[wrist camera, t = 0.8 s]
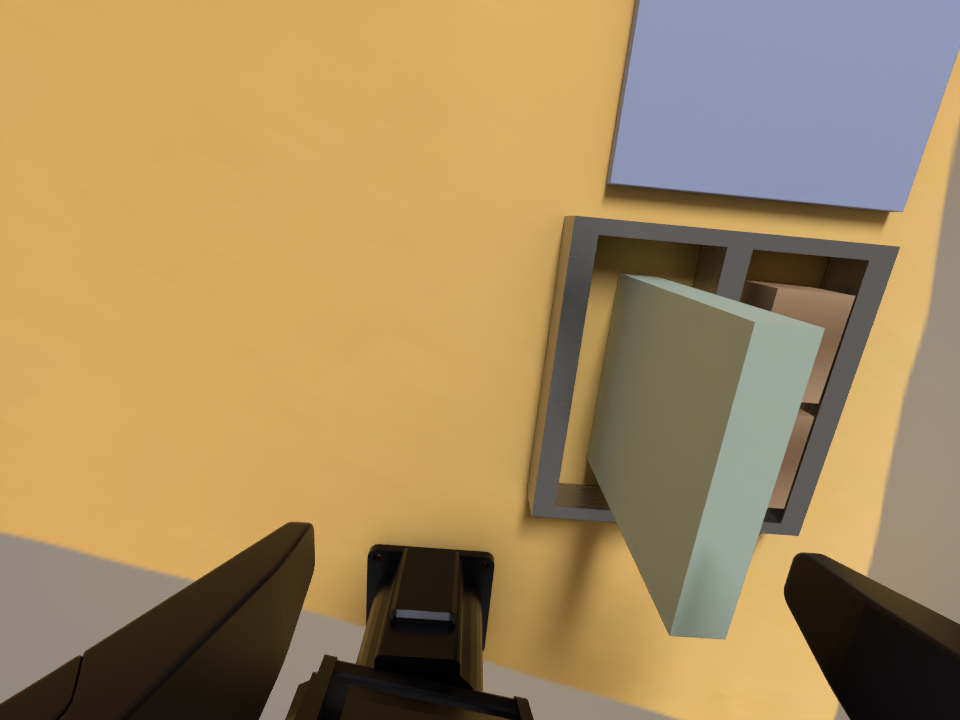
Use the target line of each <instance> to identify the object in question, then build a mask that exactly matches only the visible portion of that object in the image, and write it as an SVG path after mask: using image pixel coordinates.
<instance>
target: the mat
mask: <svg viewBox="0 0 960 720" xmlns="http://www.w3.org/2000/svg"><path fill="white" fill-rule="evenodd" d="M959 48H960V0H636V2H635V8H634V14H633V20H632V27H631V33H630V39H629V45H628V52H627V58H626V64H625V70H624V77H623V83H622V89H621V95H620V101H619V108H618V114H617V120H616V126H615V133H614V139H613V145H612V151H611V157H610V164H609V170H608V176H607V182H606V184H611V185H621V186H631V187H641V188H651V189H662V190H672V191H682V192H692V193H703V194H713V195H723V196H733V197H743V198H754V199H764V200H774V201H784V202H794V203H805V204H815V205H825V206H835V207H846V208H856V209H866V210H876V211H886V212H903V210H904V207H905V205H906V202H907V199H908V196H909V193H910V190H911V187H912V184H913V181H914V179H915V176H916V173H917V170H918V167H919V164H920V161H921V158H922V155H923V153H924V150H925V147H926V144H927V141H928V138H929V135H930V132H931V129H932V126H933V124H934V121H935V118H936V115H937V112H938V109H939V106H940V103H941V100H942V98H943V95H944V92H945V89H946V86H947V83H948V80H949V77H950V74H951V72H952V69H953V66H954V63H955V60H956V57H957V54H958V51H959Z"/></svg>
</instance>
